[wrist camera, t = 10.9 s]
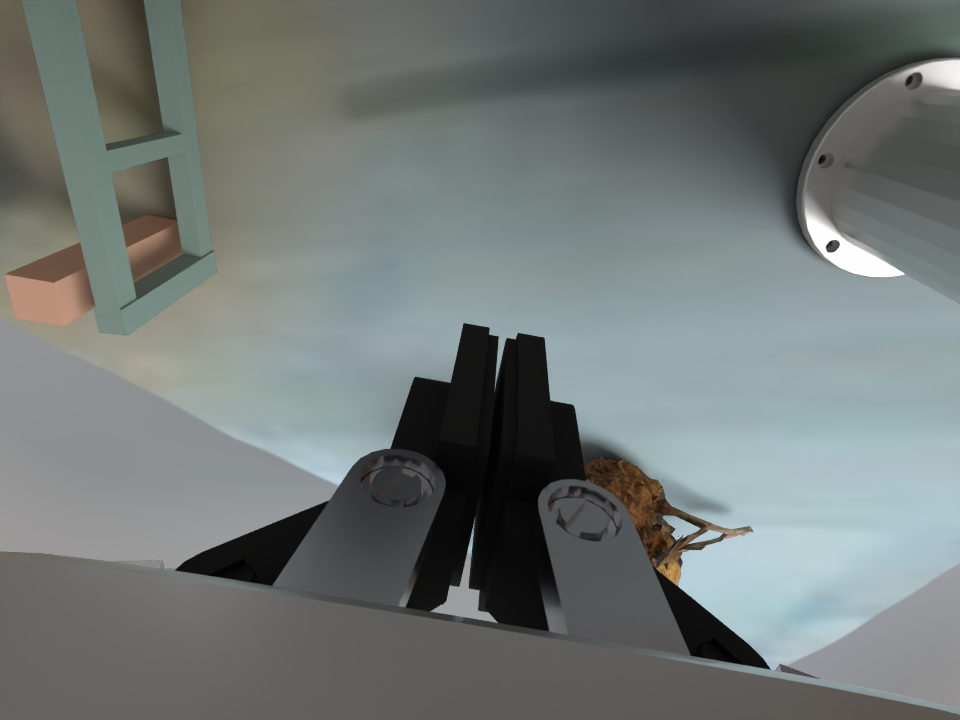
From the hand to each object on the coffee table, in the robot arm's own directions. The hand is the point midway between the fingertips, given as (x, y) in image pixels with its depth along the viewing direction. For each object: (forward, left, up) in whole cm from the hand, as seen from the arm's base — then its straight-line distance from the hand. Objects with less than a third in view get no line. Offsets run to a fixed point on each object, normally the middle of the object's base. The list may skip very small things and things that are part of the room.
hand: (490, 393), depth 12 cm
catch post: (+22, +8, -27) cm, 36 cm away
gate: (+19, +1, -26) cm, 32 cm away
